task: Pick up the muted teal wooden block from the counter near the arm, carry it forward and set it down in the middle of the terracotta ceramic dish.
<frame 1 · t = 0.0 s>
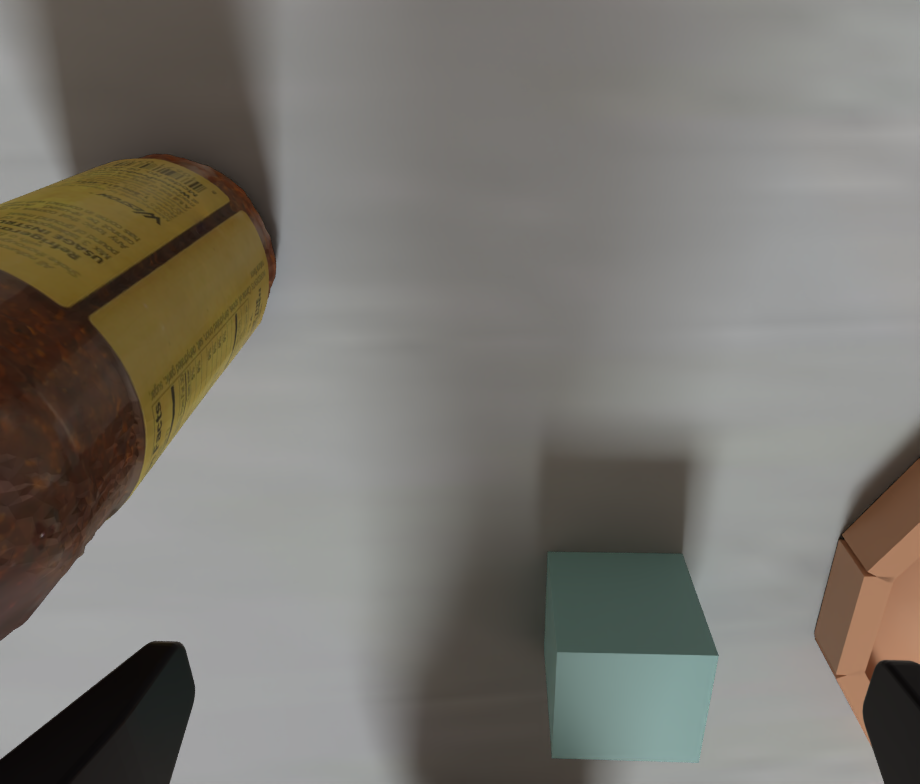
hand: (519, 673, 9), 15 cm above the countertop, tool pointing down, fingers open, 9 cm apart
block: (609, 602, 28), on the countertop
sauce bottle: (194, 254, 22), on the countertop
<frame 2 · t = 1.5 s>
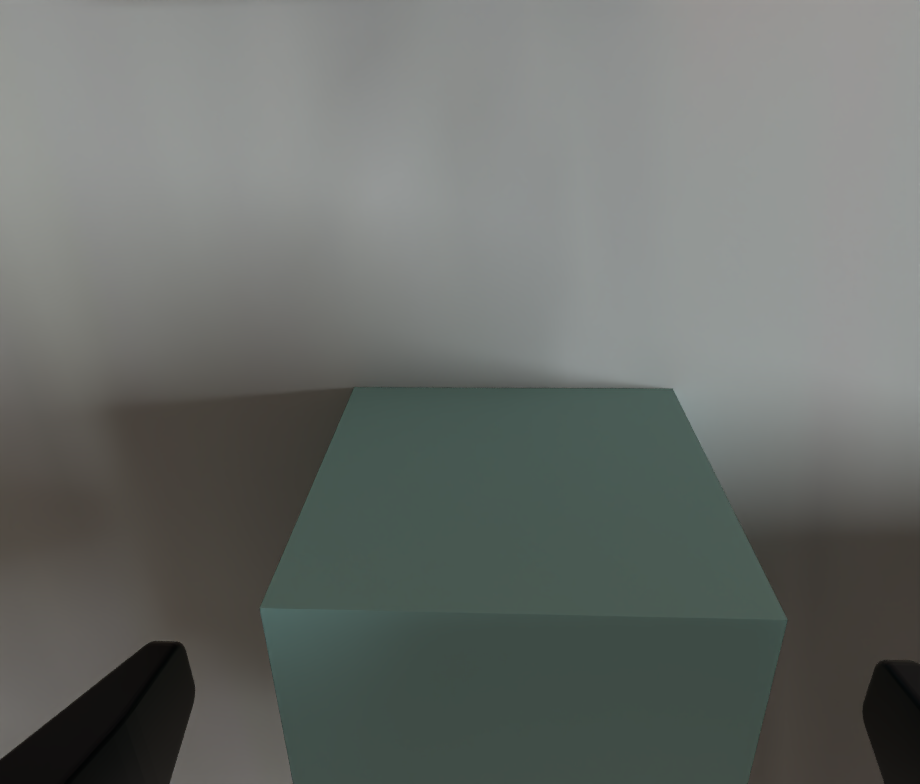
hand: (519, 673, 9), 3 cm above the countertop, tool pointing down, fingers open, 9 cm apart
block: (509, 515, 12), on the countertop
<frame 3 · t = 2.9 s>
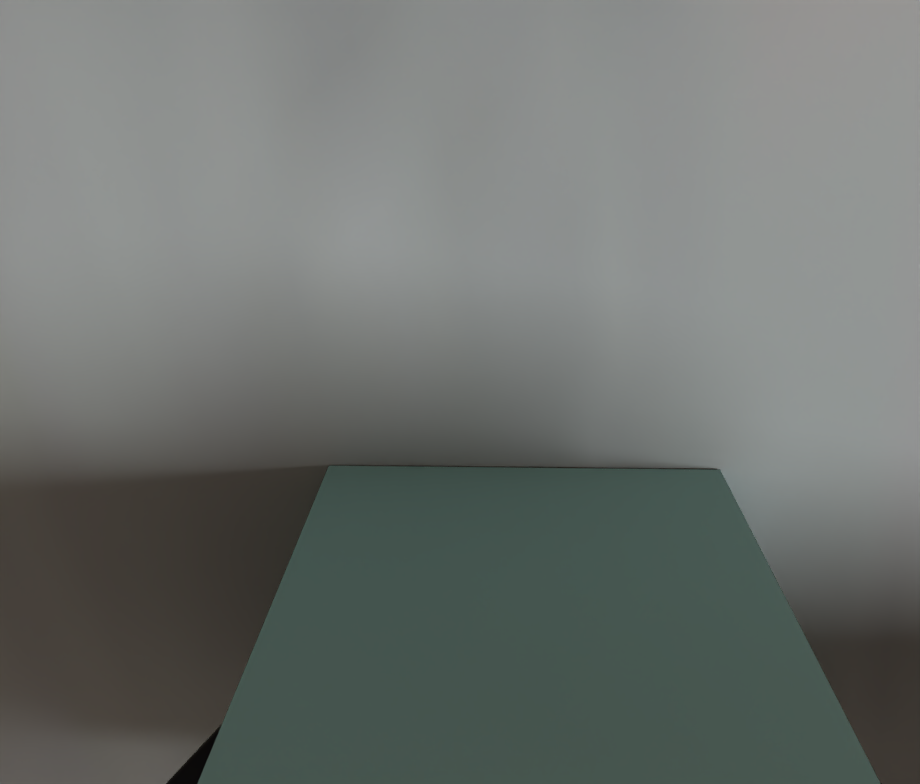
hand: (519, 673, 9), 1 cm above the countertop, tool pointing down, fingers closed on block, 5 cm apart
block: (518, 615, 10), on the countertop, touching gripper
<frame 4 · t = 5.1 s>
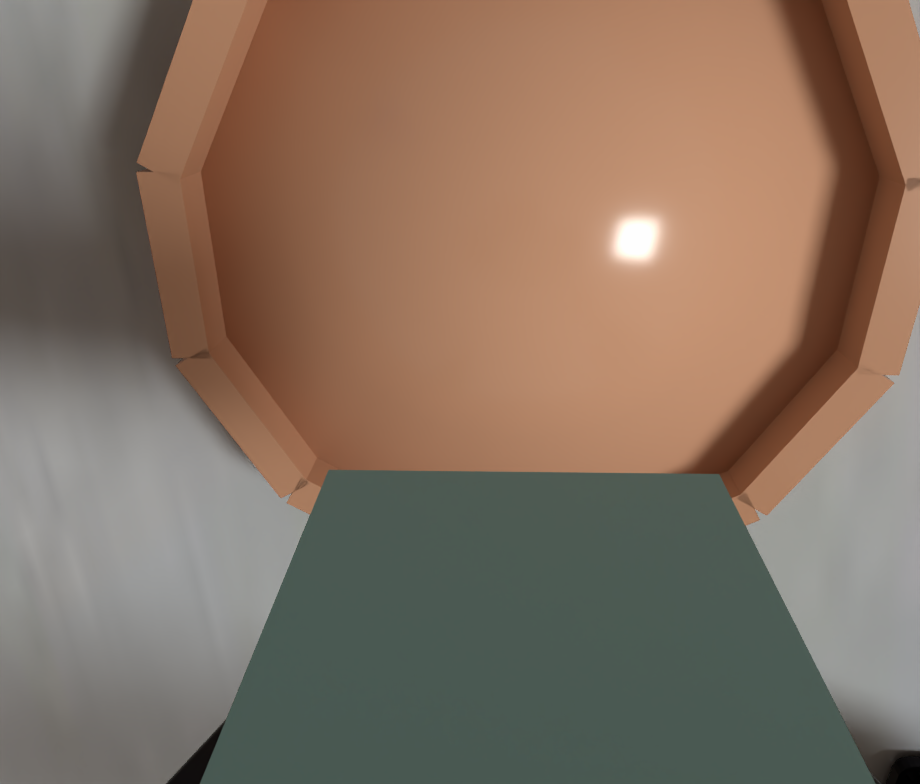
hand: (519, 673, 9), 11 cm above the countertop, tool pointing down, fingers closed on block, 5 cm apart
block: (517, 618, 10), point 10 cm above the countertop, touching gripper
dish: (526, 254, 18), on the countertop
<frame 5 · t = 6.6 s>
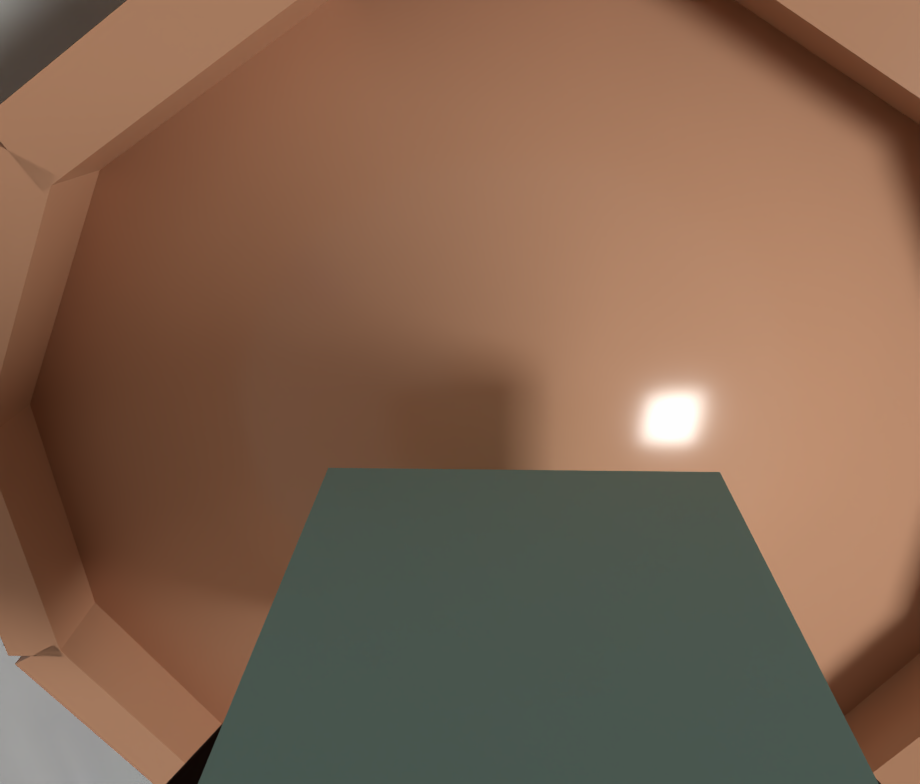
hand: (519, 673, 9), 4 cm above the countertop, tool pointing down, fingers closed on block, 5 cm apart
block: (518, 617, 10), point 3 cm above the countertop, touching gripper
dish: (512, 490, 13), on the countertop
when the fingers open (3 cm above the countertop, at t = 7.5 s): block drops 2 cm, resting on dish.
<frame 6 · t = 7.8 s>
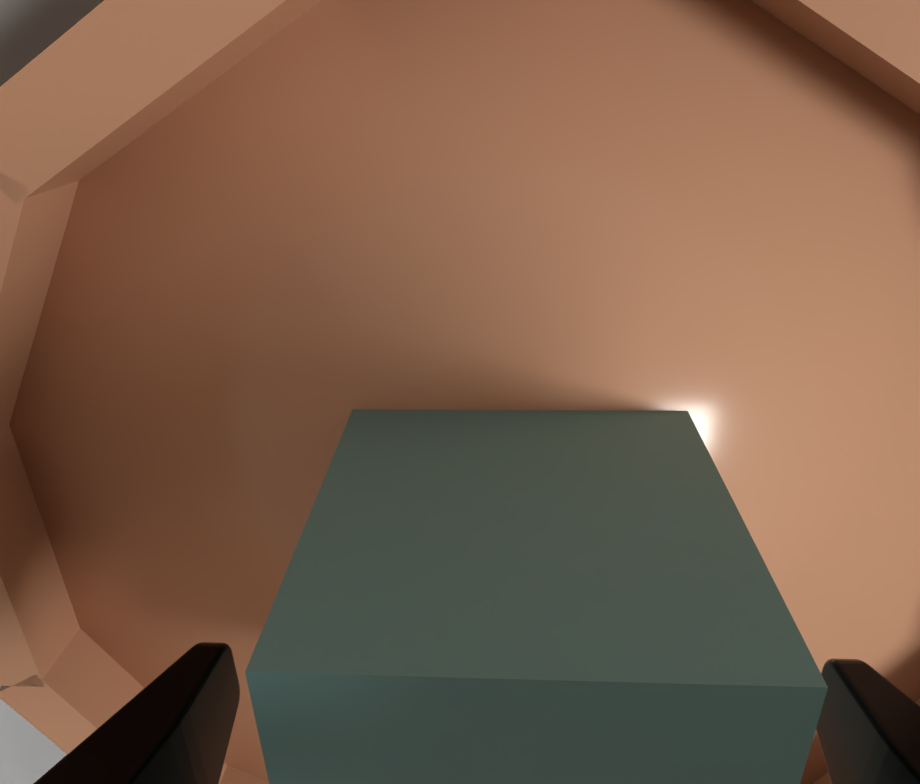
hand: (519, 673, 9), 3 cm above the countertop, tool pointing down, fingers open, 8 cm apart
block: (515, 543, 12), point 1 cm above the countertop, touching dish
dish: (514, 512, 12), on the countertop
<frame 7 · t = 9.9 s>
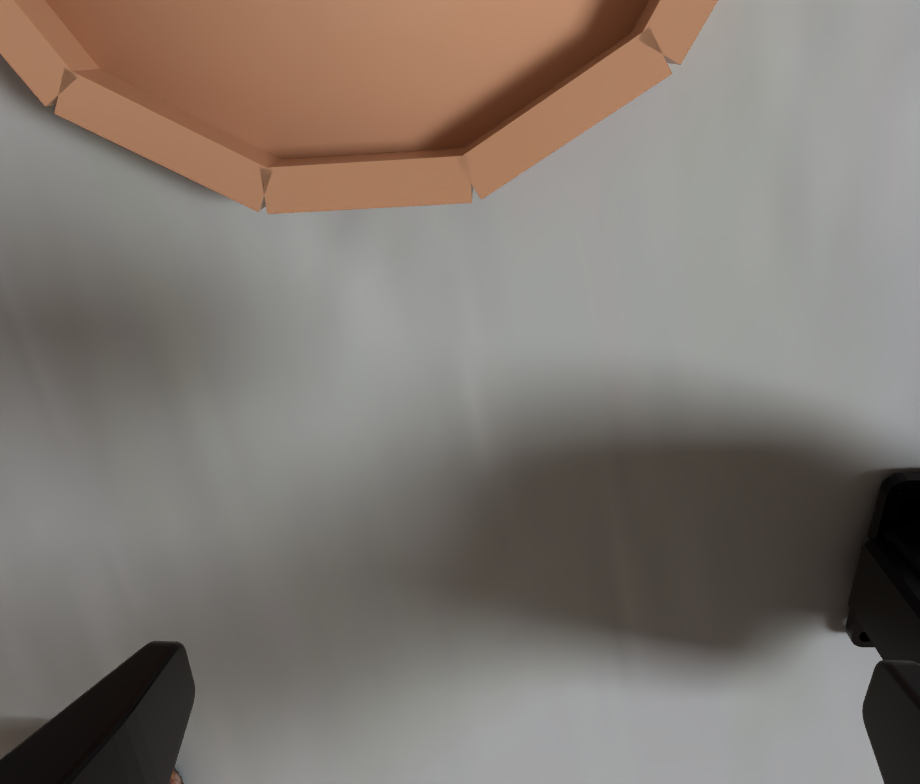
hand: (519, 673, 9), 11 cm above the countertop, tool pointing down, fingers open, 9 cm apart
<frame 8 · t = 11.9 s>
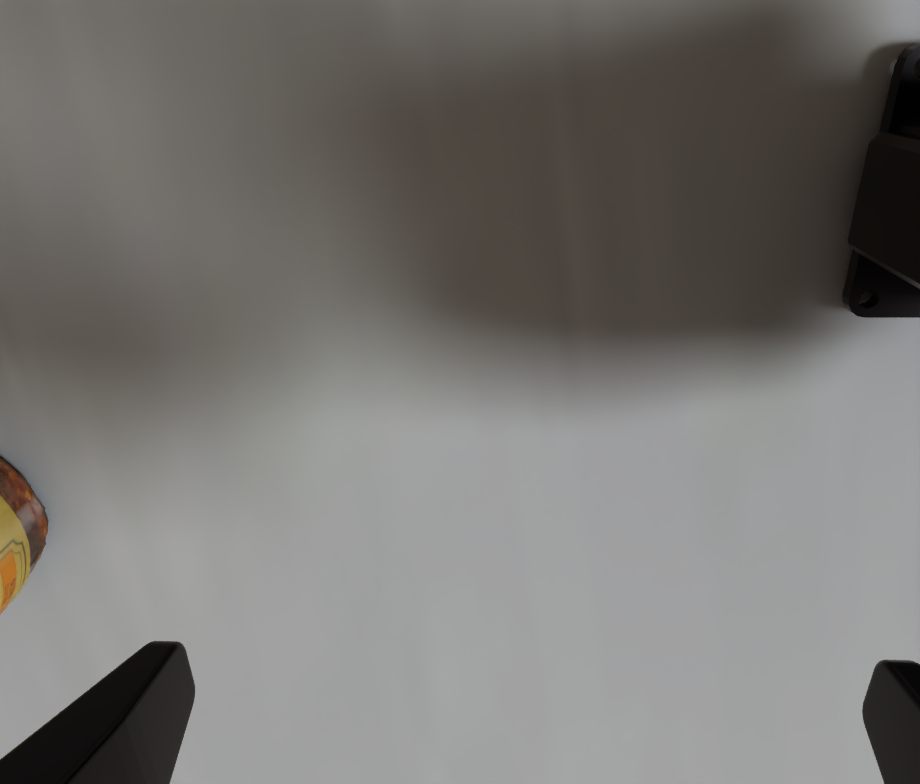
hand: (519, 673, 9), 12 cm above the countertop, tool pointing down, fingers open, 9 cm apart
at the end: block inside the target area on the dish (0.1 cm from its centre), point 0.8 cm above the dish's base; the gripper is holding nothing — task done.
